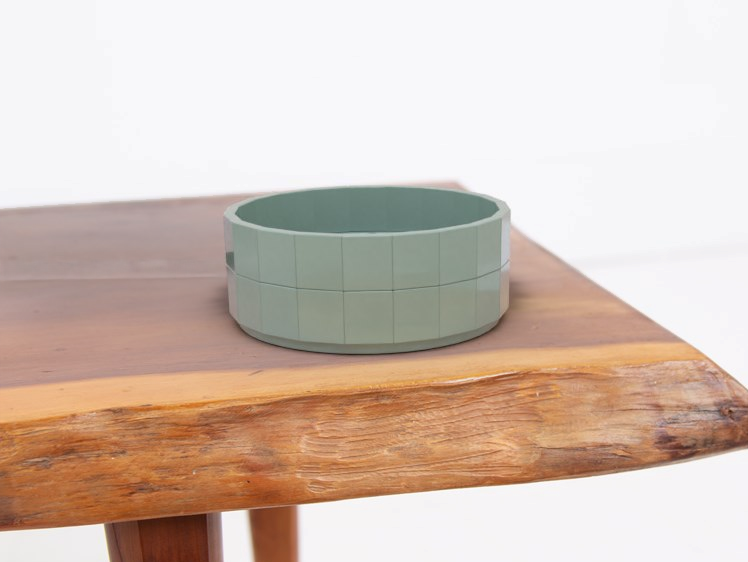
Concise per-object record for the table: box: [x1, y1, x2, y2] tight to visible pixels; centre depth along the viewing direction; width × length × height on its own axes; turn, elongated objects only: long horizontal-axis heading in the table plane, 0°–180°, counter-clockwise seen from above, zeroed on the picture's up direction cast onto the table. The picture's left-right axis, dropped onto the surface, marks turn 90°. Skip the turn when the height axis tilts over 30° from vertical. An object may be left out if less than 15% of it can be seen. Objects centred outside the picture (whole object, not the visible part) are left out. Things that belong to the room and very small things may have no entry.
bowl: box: [222, 184, 512, 355], centre depth 61 cm, size 15×15×6 cm
